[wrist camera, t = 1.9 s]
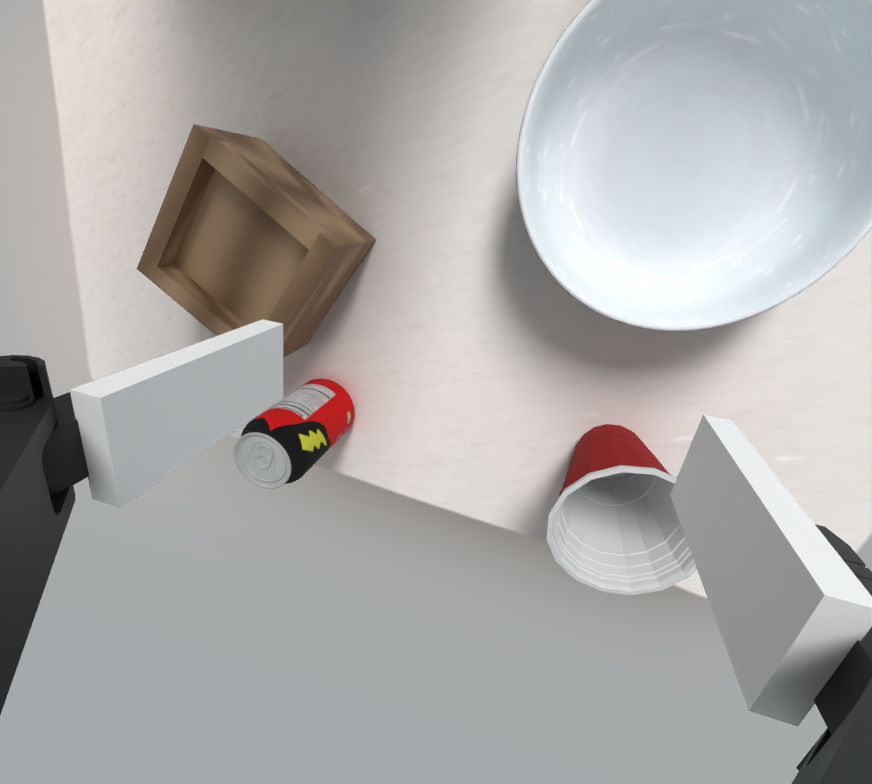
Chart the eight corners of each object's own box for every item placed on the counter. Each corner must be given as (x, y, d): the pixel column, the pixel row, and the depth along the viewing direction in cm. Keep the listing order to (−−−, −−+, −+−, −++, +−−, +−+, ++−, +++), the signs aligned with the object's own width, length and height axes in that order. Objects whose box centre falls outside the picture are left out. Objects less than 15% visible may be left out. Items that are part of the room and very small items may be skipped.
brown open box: (203, 258, 45) (136, 268, 38) (260, 138, 39) (193, 124, 32) (305, 345, 46) (258, 370, 39) (375, 239, 40) (335, 247, 33)
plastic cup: (650, 517, 43) (679, 621, 32) (537, 483, 45) (528, 571, 34) (698, 417, 38) (749, 499, 28) (570, 383, 40) (571, 449, 29)
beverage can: (297, 414, 49) (221, 473, 38) (311, 364, 46) (234, 413, 36) (348, 440, 49) (287, 507, 38) (366, 392, 46) (305, 449, 35)
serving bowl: (905, -47, 26) (1010, -126, 20) (799, 316, 34) (851, 340, 28) (533, -2, 31) (525, -53, 25) (517, 305, 39) (507, 324, 33)
